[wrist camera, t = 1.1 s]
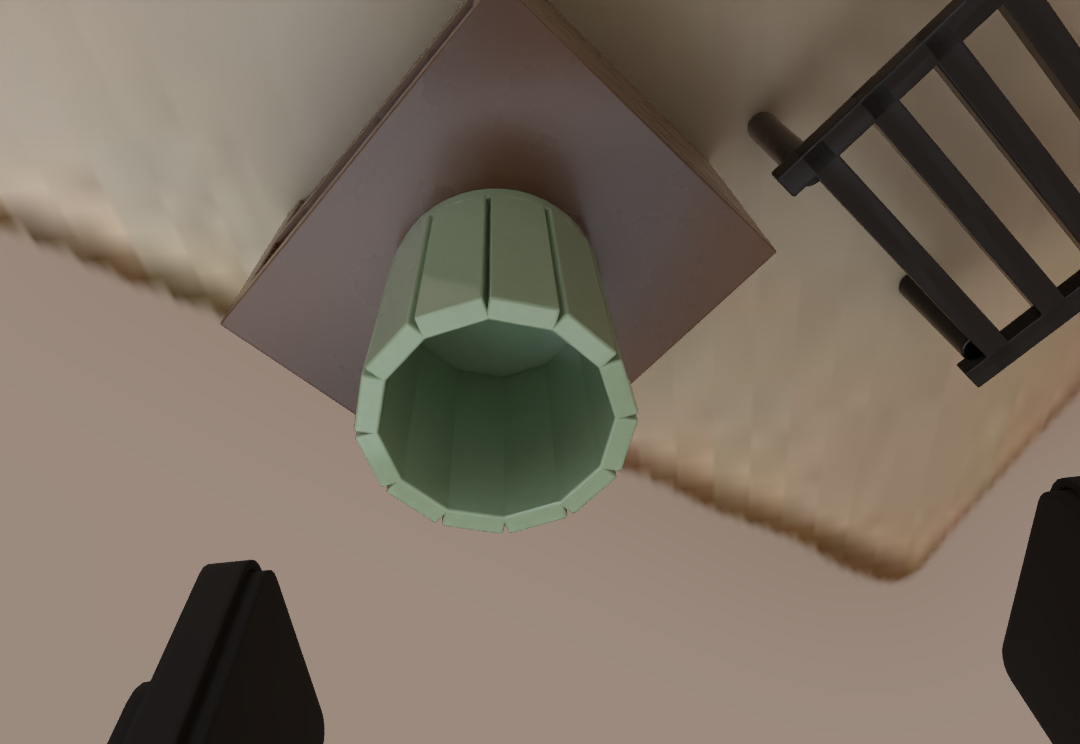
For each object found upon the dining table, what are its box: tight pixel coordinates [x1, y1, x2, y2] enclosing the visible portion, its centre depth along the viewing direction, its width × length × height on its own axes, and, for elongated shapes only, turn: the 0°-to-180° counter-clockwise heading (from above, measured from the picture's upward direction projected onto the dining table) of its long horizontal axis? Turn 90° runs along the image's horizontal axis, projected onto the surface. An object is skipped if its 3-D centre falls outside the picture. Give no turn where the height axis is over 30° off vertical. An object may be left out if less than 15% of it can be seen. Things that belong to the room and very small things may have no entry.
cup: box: [354, 189, 638, 533], centre depth 24 cm, size 7×7×8 cm
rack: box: [748, 0, 1080, 387], centre depth 32 cm, size 13×13×7 cm
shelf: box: [221, 0, 776, 414], centre depth 32 cm, size 12×14×10 cm
